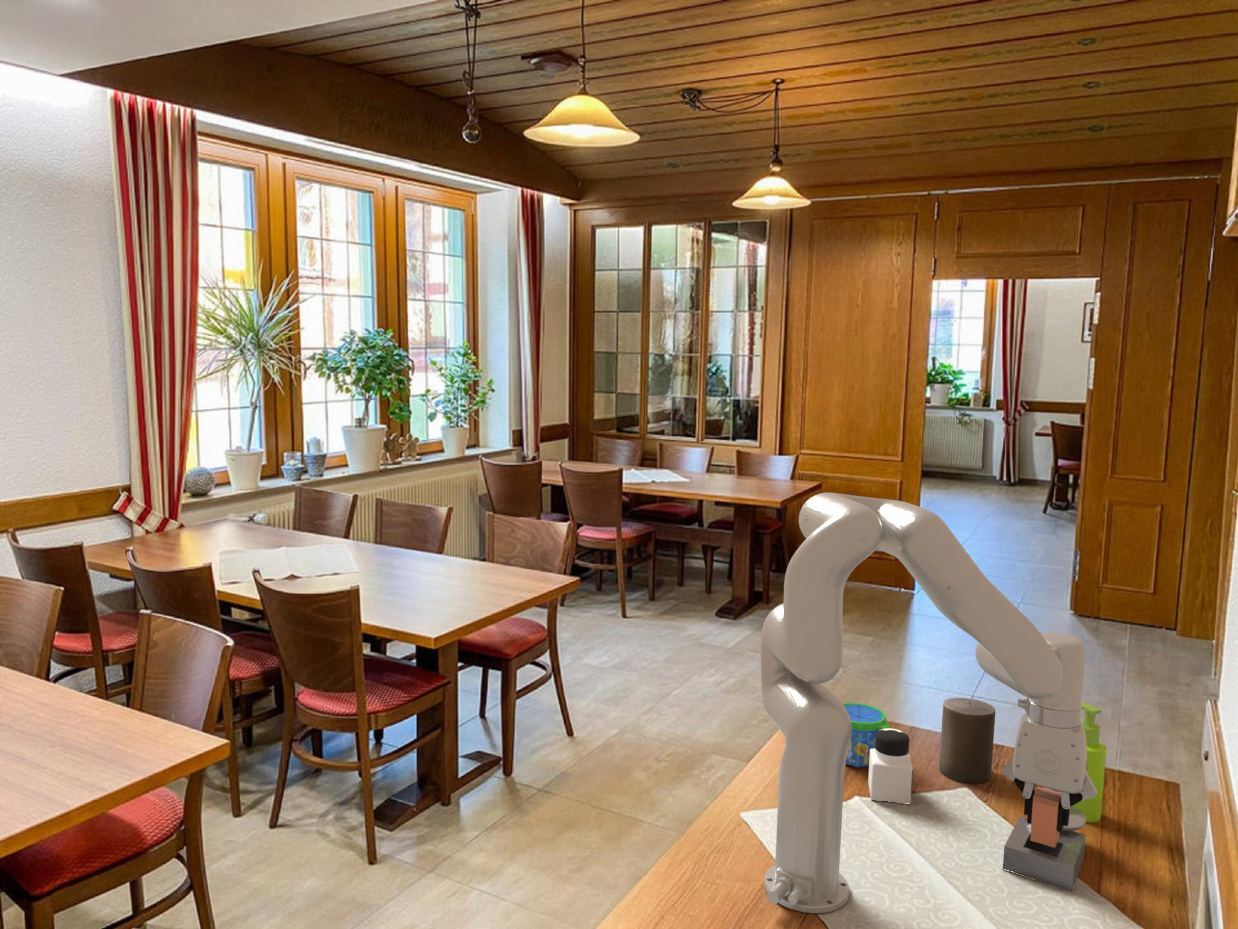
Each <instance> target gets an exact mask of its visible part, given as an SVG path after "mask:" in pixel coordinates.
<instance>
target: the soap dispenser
mask: <svg viewBox="0 0 1238 929" xmlns="http://www.w3.org/2000/svg"><path fill="white" fill-rule="evenodd" d="M1081 710H1083V711H1084V719H1083V721H1080V723H1081V724H1083V726H1084V728H1085V734H1086V744H1087V773H1088V775H1089V777H1090V778H1091V780H1092V782H1093V784H1094V786H1095V788H1096V790H1097V795H1096V797H1094V798H1090V799H1086V800H1082V801H1080V802H1078V803H1076V804H1075V805H1073V806H1075V807H1076V808H1078V809H1080V810H1081V811H1082V812H1083V813H1084V815H1085V817H1086V820H1085V823H1097V822H1099V821H1100V820H1101V816H1102V806H1103V805H1102V804H1103V794H1104V782H1105V781H1104V780H1105V771H1106V770H1105V768H1106V759H1107V758H1106V756H1107V746H1106V745H1105V744H1104V743H1102V742H1100V732H1101V728H1100V727H1101V726H1100V725H1098V724H1097V723H1096V716H1097V715H1100V714H1101V713H1102V710H1101V709H1100V708H1098V707H1096V706H1094V705H1093V704H1090V703H1088V702H1085V701H1082V705H1081ZM1083 789H1084V787H1083Z"/></svg>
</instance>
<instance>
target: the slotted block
mask: <svg viewBox="0 0 1238 929" xmlns="http://www.w3.org/2000/svg"><path fill="white" fill-rule="evenodd" d="M1042 788H1044V789H1048V790H1052V791H1055V792H1059V793H1060V791H1058V790H1054V789H1050V788H1046V787H1042ZM1085 820H1086V817H1085V815H1084V813H1083V812H1082V811H1081V810H1080V809H1078V808H1076V807H1075V806H1071V807H1070V812H1069V823H1068V826H1064V827H1063V829H1062V832H1060V833H1059V839H1058V842H1057V844H1056V846H1055V848H1054V847H1051V846H1047V845H1044V844H1041V843H1037V842H1034V841H1030V836H1031V824H1029V823H1027V817H1026V816H1022V815H1021V816H1020V815H1019V817H1018V819H1017V822H1016V823H1015V825H1014V826H1013V829H1012V831H1011V833H1010V835H1009V836H1008V838H1007V840H1006V842H1005V844H1004V846H1003V847H1004V848H1003V858H1002V859H1003V860H1002V861H1003V862H1002V870H1003V869H1006V870H1009V871H1013V872H1015V873H1018V874H1021V875H1024V876H1027V877H1030V878H1033V879H1035V880H1034V881H1037V882H1040V883H1043V884H1047V885H1050V886H1053V887H1056V888H1059V889H1062V890H1065V891H1069V892H1073V891H1074V887H1075V884H1076V881H1077V879H1078V876H1079V873H1080V871H1081V867H1082V865H1083V862H1084V859H1085V849H1086V838H1087V837H1086V836H1087V835H1086V833H1082V832H1081V833H1080V832H1078V831H1079V830H1081V829H1084V828H1085V826H1086V822H1085ZM1015 873H1014V874H1015ZM1018 874H1017V875H1018ZM1021 875H1020V876H1021ZM1024 876H1023V877H1024ZM1027 877H1026V878H1027ZM1030 878H1029V879H1030ZM1033 879H1032V880H1033Z"/></svg>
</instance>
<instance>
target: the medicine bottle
mask: <svg viewBox="0 0 1238 929" xmlns="http://www.w3.org/2000/svg"><path fill="white" fill-rule="evenodd" d="M891 728H892V727H891ZM891 728H887V729H881V730H879V731H877V732H876V734H875V749H870V759H869V766H868V778H867V780H868V781H867V782H868V784H867V785H868V790H869V795H870V800H871V801H872V800H877V801H876V802H881V801H889V802H888V803H890V802H899V803H911V804H912V796H913V795H912V793H913V780H914V779H913V777H914V767H913V764H912V760H911V756H910V753H909V752H910V737H909V735H908V734H907V733H906V732H904V731H902V730H899V729H897V728H892V729H891ZM899 803H898V804H899Z"/></svg>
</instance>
